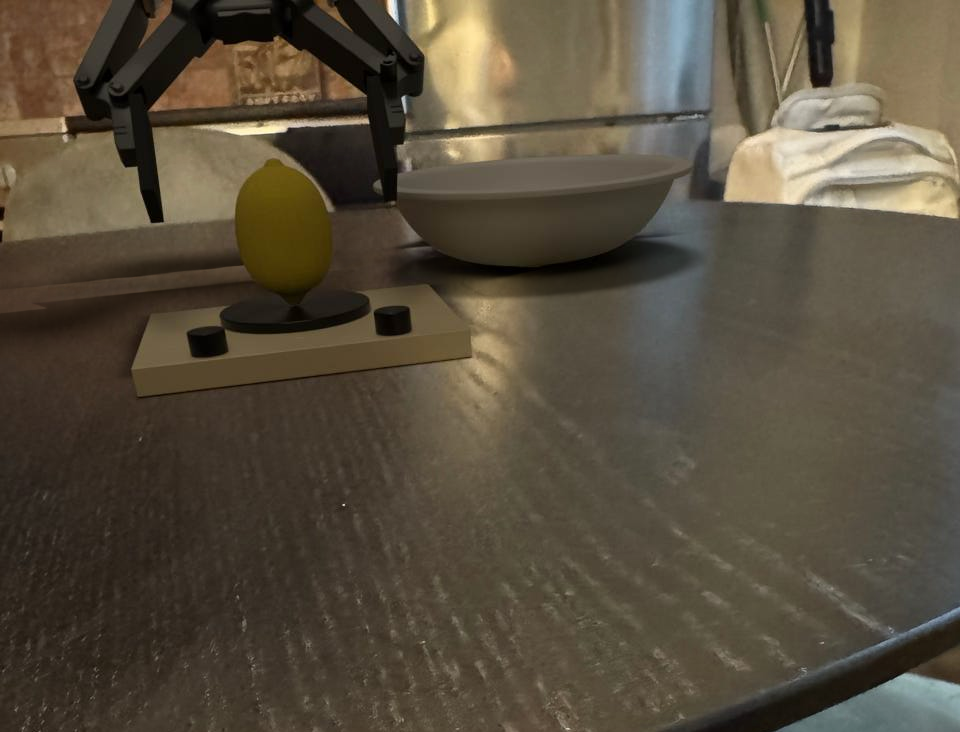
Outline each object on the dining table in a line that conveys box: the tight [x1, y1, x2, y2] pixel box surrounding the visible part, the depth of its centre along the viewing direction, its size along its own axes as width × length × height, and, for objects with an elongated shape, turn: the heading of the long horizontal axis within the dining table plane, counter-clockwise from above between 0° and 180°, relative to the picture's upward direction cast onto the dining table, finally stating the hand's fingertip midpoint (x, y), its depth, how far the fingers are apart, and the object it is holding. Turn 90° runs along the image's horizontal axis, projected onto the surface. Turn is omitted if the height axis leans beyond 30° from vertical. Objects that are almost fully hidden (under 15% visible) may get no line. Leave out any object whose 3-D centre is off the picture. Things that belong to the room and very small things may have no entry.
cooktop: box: [130, 283, 473, 398], centre depth 58 cm, size 14×18×3 cm
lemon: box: [234, 157, 334, 305], centre depth 57 cm, size 6×6×8 cm
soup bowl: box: [372, 153, 694, 268], centre depth 76 cm, size 24×24×7 cm
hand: (273, 196), depth 57 cm, fingers open, 13 cm apart
